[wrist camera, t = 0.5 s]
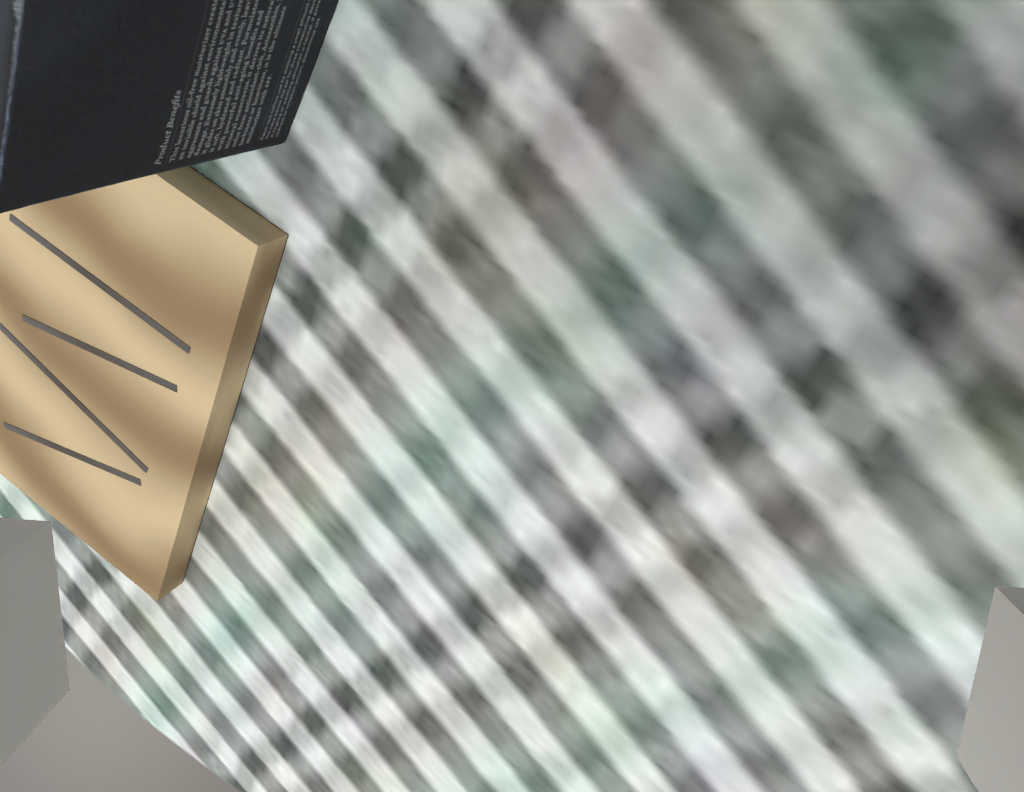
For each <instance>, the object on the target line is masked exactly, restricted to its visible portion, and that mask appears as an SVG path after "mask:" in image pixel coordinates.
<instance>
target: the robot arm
mask: <svg viewBox="0 0 1024 792" xmlns="http://www.w3.org/2000/svg"><path fill="white" fill-rule="evenodd" d="M68 691H69V680H68V671H67V661H66V652H65V643H64V634H63V625H62V616H61V607H60V598H59V589H58V580H57V571H56V562H55V553H54V544H53V535H52V526H51V521H36V520H22V519H7V518H0V766H1V765H2V764H3V763H4V762H5V761H6V760H7V758H8V757H9V756H10V755H11V754H12V753H13V752H14V751H15V750H16V748H18V746H19V745H20V744H21V743H22V742H23V741H24V740H25V739H26V738H27V736H28V735H29V734H30V733H31V732H32V731H33V730H34V729H35V728H36V726H37V725H38V724H39V723H40V722H41V721H42V720H43V719H44V717H45V716H46V715H47V714H48V713H49V712H50V711H51V710H52V708H54V706H55V705H56V704H57V703H58V702H59V701H60V700H61V699H62V697H63V696H64V695H65V694H66V693H67V692H68ZM956 757H957V759H958V760H959V762H960V763H961V765H962V767H963V768H964V770H965V771H966V773H967V774H968V776H969V777H970V779H971V780H972V782H973V784H974V785H975V787H976V788H977V790H978V791H979V792H1024V588H1014V587H999V586H995V591H994V595H993V599H992V604H991V608H990V612H989V617H988V621H987V625H986V630H985V634H984V639H983V643H982V647H981V652H980V656H979V660H978V665H977V669H976V673H975V678H974V682H973V687H972V691H971V695H970V700H969V704H968V708H967V713H966V717H965V721H964V726H963V730H962V734H961V739H960V743H959V748H958V752H957V756H956Z"/></svg>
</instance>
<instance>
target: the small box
mask: <svg viewBox="0 0 1024 792" xmlns="http://www.w3.org/2000/svg"><path fill="white" fill-rule="evenodd" d="M337 1H338V0H0V214H1V213H4V212H8V211H12V210H16V209H20V208H23V207H27V206H30V205H34V204H38V203H43V202H47V201H51V200H55V199H59V198H63V197H67V196H71V195H74V194H78V193H82V192H86V191H90V190H94V189H98V188H102V187H105V186H110V185H114V184H118V183H121V182H125V181H129V180H133V179H138V178H142V177H146V176H150V175H154V174H158V173H162V172H166V171H171V170H175V169H178V168H182V167H186V166H191V165H195V164H199V163H203V162H207V161H211V160H215V159H219V158H223V157H227V156H232V155H236V154H240V153H244V152H248V151H253V150H256V149H260V148H264V147H269V146H274V145H278V144H282V143H283V142H284V141H285V139H286V137H287V135H288V132H289V129H290V127H291V124H292V121H293V119H294V117H295V114H296V111H297V108H298V106H299V103H300V100H301V98H302V95H303V92H304V90H305V87H306V84H307V82H308V79H309V77H310V74H311V71H312V69H313V66H314V63H315V61H316V58H317V55H318V52H319V49H320V46H321V44H322V41H323V39H324V36H325V33H326V30H327V28H328V25H329V22H330V19H331V16H332V14H333V12H334V9H335V6H336V3H337Z"/></svg>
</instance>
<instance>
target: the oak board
mask: <svg viewBox="0 0 1024 792" xmlns="http://www.w3.org/2000/svg"><path fill="white" fill-rule="evenodd" d="M287 237H288V235H287V234H286V233H284V232H283V231H281V230H280V229H279V228H277V227H276V226H274V225H273V224H271V223H270V222H269V221H267V220H266V219H264V218H263V217H261V216H260V215H259V214H257V213H256V212H254V211H253V210H251V209H250V208H249V207H247V206H246V205H244V204H243V203H241V202H240V201H239V200H237V199H236V198H234V197H233V196H231V195H230V194H229V193H227V192H226V191H224V190H223V189H221V188H220V187H218V186H217V185H216V184H214V183H213V182H211V181H210V180H208V179H207V178H206V177H204V176H203V175H201V174H200V173H198V172H197V171H196V170H194V169H193V168H191V167H190V166H186V167H182V168H178V169H175V170H171V171H166V172H162V173H158V174H154V175H150V176H146V177H142V178H138V179H133V180H129V181H125V182H121V183H118V184H114V185H110V186H105V187H102V188H98V189H94V190H90V191H86V192H82V193H78V194H74V195H71V196H67V197H63V198H59V199H55V200H51V201H47V202H43V203H38V204H34V205H30V206H27V207H23V208H20V209H16V210H12V211H8V212H4V213H1V214H0V474H2V475H3V476H4V477H5V478H7V479H8V480H9V481H10V482H11V483H13V484H14V485H15V486H16V487H18V488H19V489H20V490H21V491H23V492H24V493H25V494H26V495H27V496H29V497H30V498H31V499H32V500H34V501H35V502H36V503H37V504H38V505H40V506H41V507H42V508H43V509H45V510H46V511H47V512H48V513H50V514H51V515H52V516H53V517H54V518H56V519H57V520H58V521H59V522H61V523H62V524H63V525H64V526H65V527H67V528H68V529H69V530H70V531H72V532H73V533H74V534H75V535H77V536H78V537H79V538H80V539H81V540H83V541H84V542H85V543H86V544H88V545H89V546H90V547H91V548H92V549H94V550H95V551H96V552H97V553H99V554H100V555H101V556H102V557H103V558H105V559H106V560H107V561H108V562H110V563H111V564H112V565H113V566H115V567H116V568H117V569H118V570H119V571H121V572H122V573H123V574H124V575H126V576H127V577H128V578H129V579H130V580H132V581H133V582H134V583H135V584H137V585H138V586H139V587H140V588H142V589H143V590H144V591H145V592H146V593H148V594H149V595H150V596H151V597H153V598H154V599H155V600H156V601H159V600H160V599H161V598H163V597H164V596H165V595H167V594H168V593H169V592H171V591H172V590H173V589H175V588H176V587H177V586H178V585H180V584H181V583H182V582H183V580H184V576H185V573H186V570H187V566H188V563H189V560H190V556H191V553H192V550H193V547H194V543H195V540H196V537H197V533H198V530H199V527H200V524H201V520H202V517H203V514H204V510H205V507H206V504H207V501H208V497H209V494H210V491H211V487H212V484H213V481H214V478H215V474H216V471H217V468H218V464H219V461H220V458H221V454H222V451H223V448H224V445H225V441H226V438H227V435H228V431H229V428H230V425H231V422H232V418H233V415H234V412H235V408H236V405H237V402H238V399H239V395H240V392H241V389H242V385H243V382H244V379H245V376H246V372H247V369H248V366H249V362H250V359H251V356H252V352H253V349H254V346H255V343H256V339H257V336H258V333H259V329H260V326H261V323H262V320H263V316H264V313H265V310H266V306H267V303H268V300H269V297H270V293H271V290H272V287H273V283H274V280H275V277H276V274H277V270H278V267H279V264H280V260H281V257H282V254H283V250H284V247H285V244H286V241H287Z"/></svg>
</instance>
